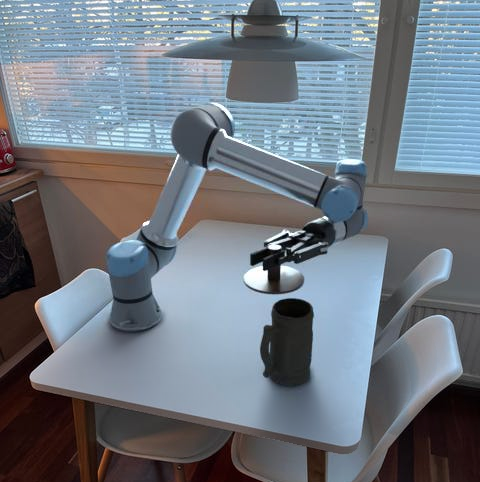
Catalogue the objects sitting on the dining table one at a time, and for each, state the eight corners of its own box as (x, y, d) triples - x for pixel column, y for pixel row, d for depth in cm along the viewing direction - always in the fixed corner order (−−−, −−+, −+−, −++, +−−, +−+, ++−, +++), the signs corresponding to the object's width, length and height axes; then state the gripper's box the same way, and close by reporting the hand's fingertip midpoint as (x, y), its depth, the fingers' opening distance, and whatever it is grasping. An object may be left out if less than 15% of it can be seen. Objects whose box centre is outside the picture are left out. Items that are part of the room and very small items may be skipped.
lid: (231, 280, 109) (230, 247, 105) (271, 262, 117) (272, 230, 113) (276, 301, 101) (277, 266, 96) (316, 279, 109) (319, 246, 105)
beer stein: (285, 354, 128) (285, 291, 117) (319, 369, 122) (323, 304, 111) (250, 385, 119) (246, 320, 107) (286, 403, 113) (285, 336, 101)
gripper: (298, 211, 119) (231, 236, 105) (352, 226, 110) (286, 257, 96) (296, 239, 123) (232, 267, 109) (348, 256, 113) (285, 289, 99)
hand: (257, 262), depth 102 cm, fingers closed on lid, 3 cm apart
